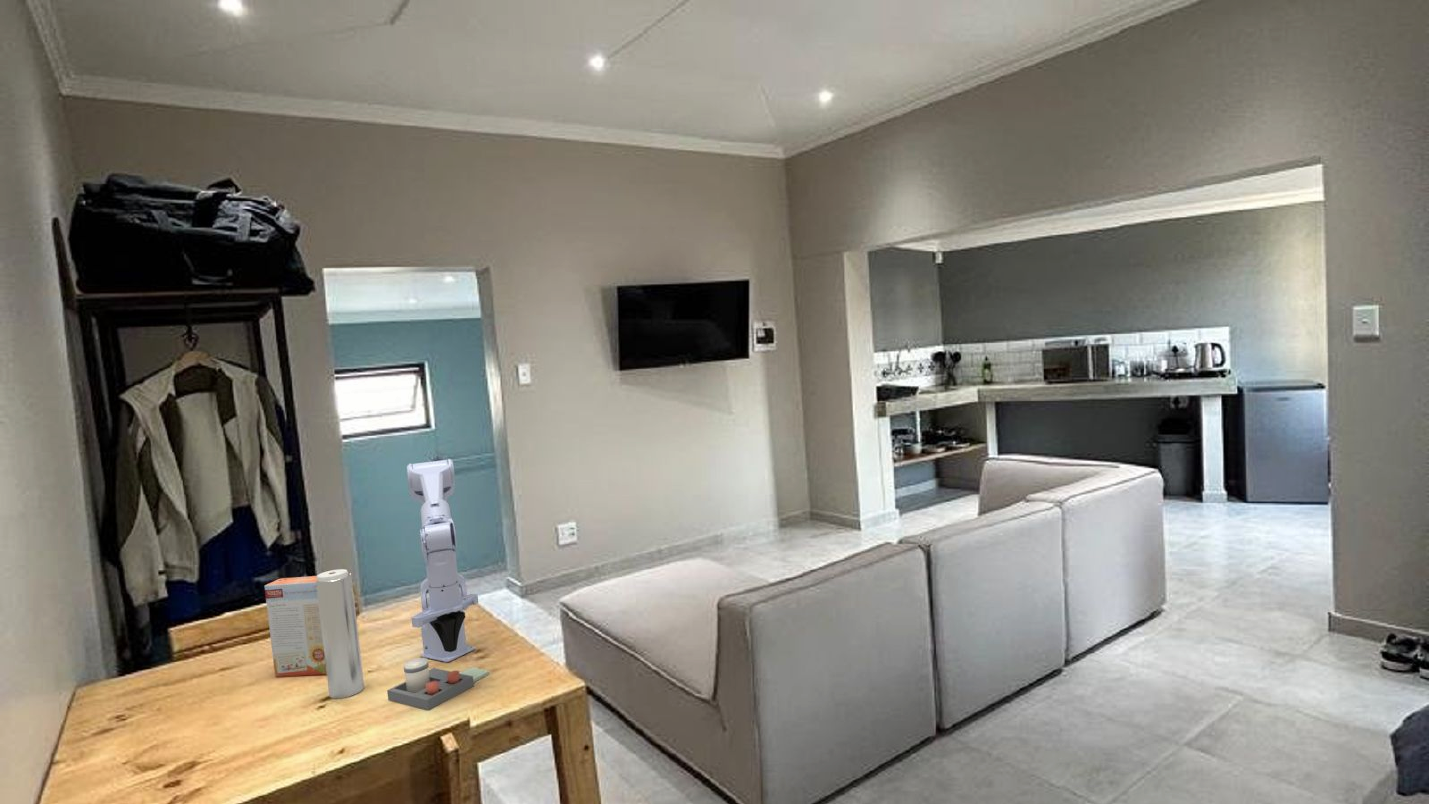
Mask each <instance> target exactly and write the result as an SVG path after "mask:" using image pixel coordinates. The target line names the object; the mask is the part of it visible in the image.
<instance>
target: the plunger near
mask: <svg viewBox="0 0 1429 804" xmlns="http://www.w3.org/2000/svg"><path fill="white" fill-rule="evenodd" d="M426 689H427V695H431V696H432V695H434V694H436V693H438V692H439V686H438V682H437V681H432V682H429V683H427V684H426Z"/></svg>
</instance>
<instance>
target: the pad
mask: <svg viewBox="0 0 1429 804" xmlns="http://www.w3.org/2000/svg"><path fill="white" fill-rule="evenodd" d="M459 674H464V675H469V676H473V682H474V683H475V682H477V681H479V680H481V679H483V678H485V677H487V676H489V675H490V670H486V669H481V668H476V667H469V668H467V669H465V670H463V671H461V672H459Z"/></svg>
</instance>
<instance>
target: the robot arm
mask: <svg viewBox="0 0 1429 804" xmlns="http://www.w3.org/2000/svg"><path fill="white" fill-rule="evenodd" d="M406 471H407V472H406V474H407V482H408V489H409V492H410V496H411V497H412V500H413V501H416V502H420V503H421V508H420V518H421V528H420V530H419V536H420V546H421V552H422V555H423V558H424V564H425V571H426V577H425V579H424V580H423V581H422V582H421V585H420V604H421V610H422V611H420V612H418V613H417V614H415V615H412V616H411V618H410V619H411V625H412V627H413V628H417V629H420V632H421V641H422V648H423V649H422V651H423V653H421V654H420V658H427V659H431V660H434V661H440V662H445V663H449V662H452V661H454V660H456V659H457V658H460V657H462V656H463V655H464V656H465V655H466V654H468V653H470V652H473V651H474V650H476V646H472V645H467V638H466V629H465V628H466V627H465V618H466V612H464V611H467V610H468V608H469V607H470V606H472V605H475V606H476V605H478V604H479V596H478V594H476V593H468V589H467V585H466V579H465V577H464V575H462V574H460V573H459V572H458V564H457V554H456V550H457V546H458V541H457V532H456V526H455V525H456V524H455V523H454V520H453V519H452V515H451V514H452V513H451V507H450V505H449V503H448V501H447V499H448V498H450V497H452V496H453V495H454V494H455V490H456V488H455V487H456V476H455V467H454V461H453V459H451V458H447V459H442V460H435V461H427V462H426V461H425V462H419V463H418V462H417V463H408V465H406ZM453 547H454V548H453Z"/></svg>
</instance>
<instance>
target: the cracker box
mask: <svg viewBox="0 0 1429 804" xmlns="http://www.w3.org/2000/svg"><path fill="white" fill-rule="evenodd" d="M316 581H317V575H312V576H311V575H310V576H300V577H299V576H297V577H296V576H295V577H284V578H283V577H281V578H278V579H276V580H274V581H272V582H269V583H267V584H265V585H264V586H263V587H264V593H265V594H264V595H265V602H266V603H265V604H266V610H267V618H268V627H269V635H270V637H269V638H270V642H271V652H272V659H273V668H274V676H275V677H276V678H279V677H281V678H283V677H298V676H314V675H317V676H319V675H320V676H321V675H327V672H326V664H325V655H324V647H323V638H322V630H321V621H320V612H319V604H318V595H317V587H316Z"/></svg>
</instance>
